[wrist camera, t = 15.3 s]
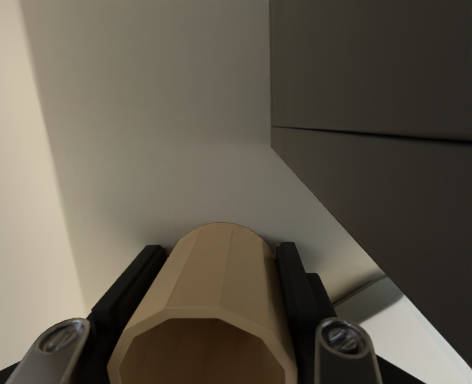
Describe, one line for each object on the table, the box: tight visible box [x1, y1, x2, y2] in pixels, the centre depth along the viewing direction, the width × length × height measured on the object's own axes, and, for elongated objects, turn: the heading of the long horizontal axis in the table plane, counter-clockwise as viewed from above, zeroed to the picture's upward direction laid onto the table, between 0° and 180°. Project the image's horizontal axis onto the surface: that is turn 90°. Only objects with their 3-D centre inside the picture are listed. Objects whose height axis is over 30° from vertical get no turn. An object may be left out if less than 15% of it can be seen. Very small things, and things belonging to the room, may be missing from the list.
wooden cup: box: [107, 222, 298, 384], centre depth 9 cm, size 5×5×5 cm
